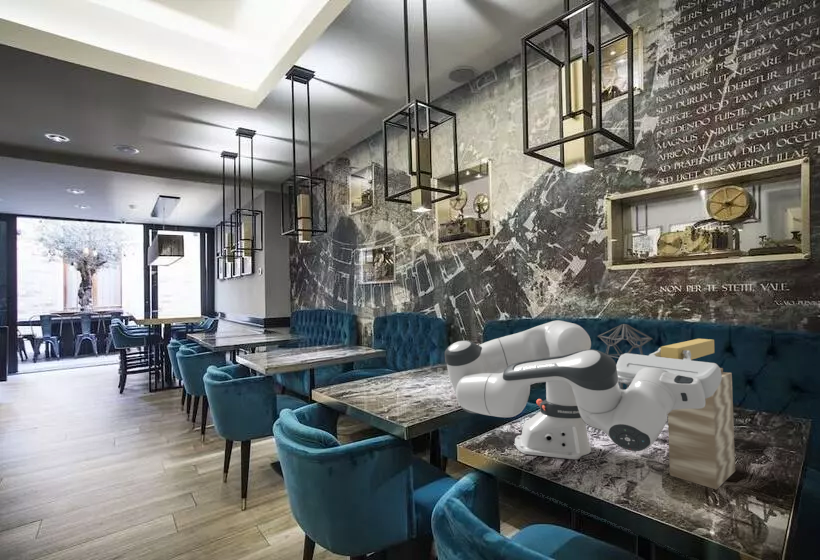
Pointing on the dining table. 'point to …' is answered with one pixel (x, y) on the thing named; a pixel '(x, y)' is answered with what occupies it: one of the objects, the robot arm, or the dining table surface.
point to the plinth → (704, 439)
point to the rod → (689, 348)
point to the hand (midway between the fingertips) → (675, 351)
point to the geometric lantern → (628, 329)
